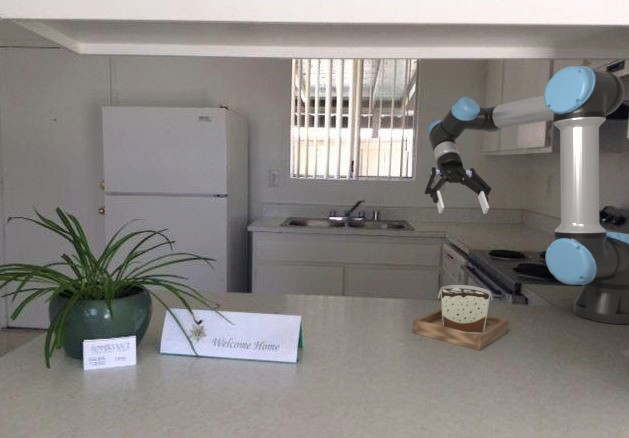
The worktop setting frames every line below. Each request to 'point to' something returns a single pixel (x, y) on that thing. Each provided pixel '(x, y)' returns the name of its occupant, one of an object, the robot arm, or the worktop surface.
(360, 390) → the worktop surface
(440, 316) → the walnut pocket tray
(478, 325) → the food container
